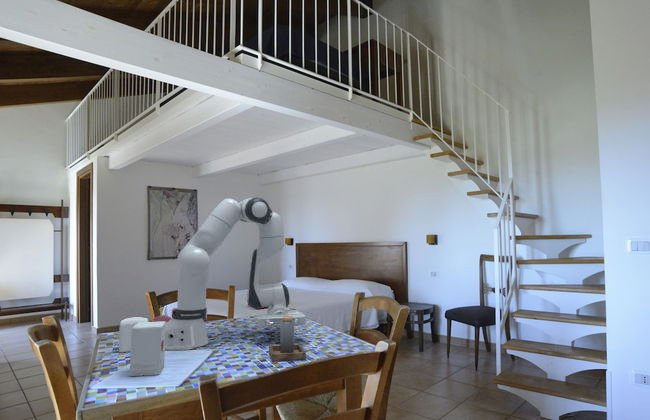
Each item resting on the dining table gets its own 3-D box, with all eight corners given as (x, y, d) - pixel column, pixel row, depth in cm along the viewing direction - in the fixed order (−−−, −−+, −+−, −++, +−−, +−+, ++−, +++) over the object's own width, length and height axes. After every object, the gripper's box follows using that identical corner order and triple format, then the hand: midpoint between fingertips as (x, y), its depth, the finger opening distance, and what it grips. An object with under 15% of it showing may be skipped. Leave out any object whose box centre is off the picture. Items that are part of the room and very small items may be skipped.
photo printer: (117, 353, 148) (119, 319, 149) (119, 350, 152) (120, 317, 153) (148, 350, 152) (149, 317, 153) (148, 347, 156) (149, 315, 157)
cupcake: (167, 333, 179) (168, 306, 180) (148, 333, 179) (149, 306, 180) (174, 329, 187) (175, 303, 188) (156, 328, 187) (157, 302, 188)
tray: (271, 361, 140) (272, 354, 140) (268, 352, 151) (269, 345, 151) (305, 359, 142) (305, 352, 142) (300, 350, 154) (300, 343, 154)
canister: (280, 356, 144) (281, 318, 145) (279, 352, 149) (279, 315, 150) (294, 355, 145) (295, 317, 146) (292, 352, 150) (293, 315, 151)
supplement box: (159, 375, 125) (161, 326, 126) (128, 377, 123) (130, 327, 124) (165, 366, 134) (166, 320, 135) (136, 367, 132) (138, 321, 133)
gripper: (255, 310, 170) (256, 317, 157) (302, 309, 175) (308, 315, 161) (254, 325, 170) (256, 333, 156) (302, 323, 174) (308, 331, 161)
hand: (283, 324), depth 159 cm, fingers open, 8 cm apart
